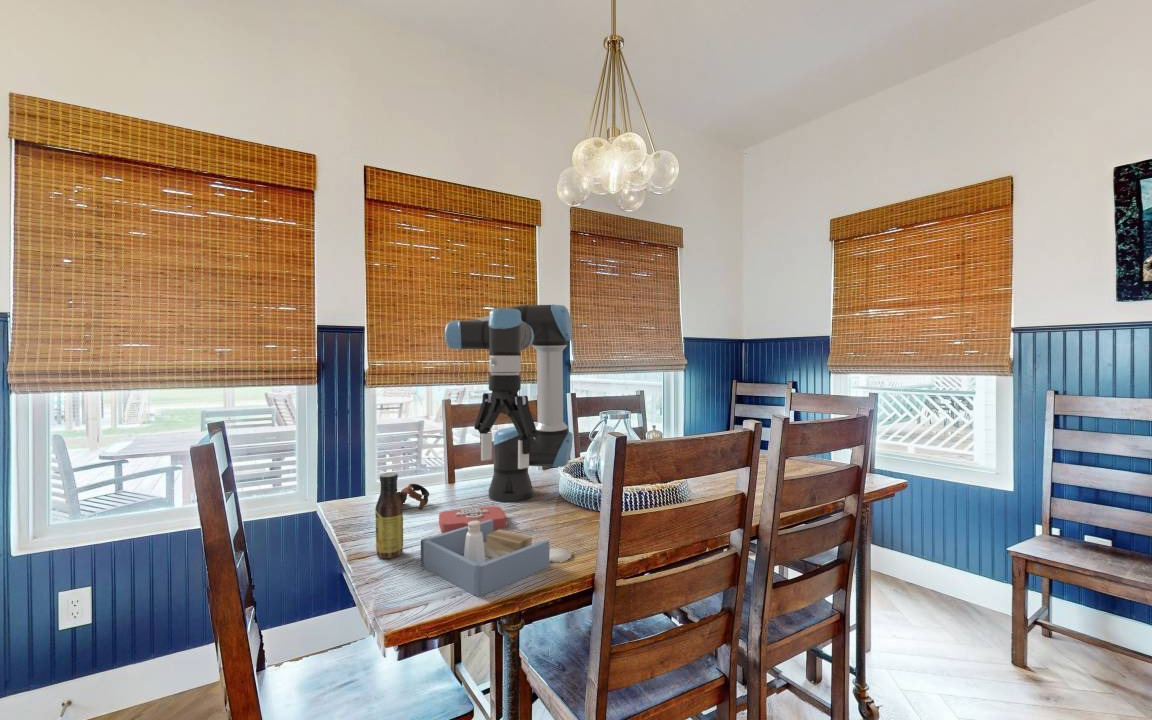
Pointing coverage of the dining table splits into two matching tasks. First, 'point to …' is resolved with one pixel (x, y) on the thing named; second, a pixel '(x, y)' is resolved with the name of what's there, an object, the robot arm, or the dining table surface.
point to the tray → (480, 578)
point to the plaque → (471, 518)
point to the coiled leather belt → (415, 494)
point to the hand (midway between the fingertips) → (504, 463)
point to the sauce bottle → (389, 518)
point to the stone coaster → (559, 554)
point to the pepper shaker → (474, 543)
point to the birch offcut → (493, 552)
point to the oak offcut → (507, 541)
